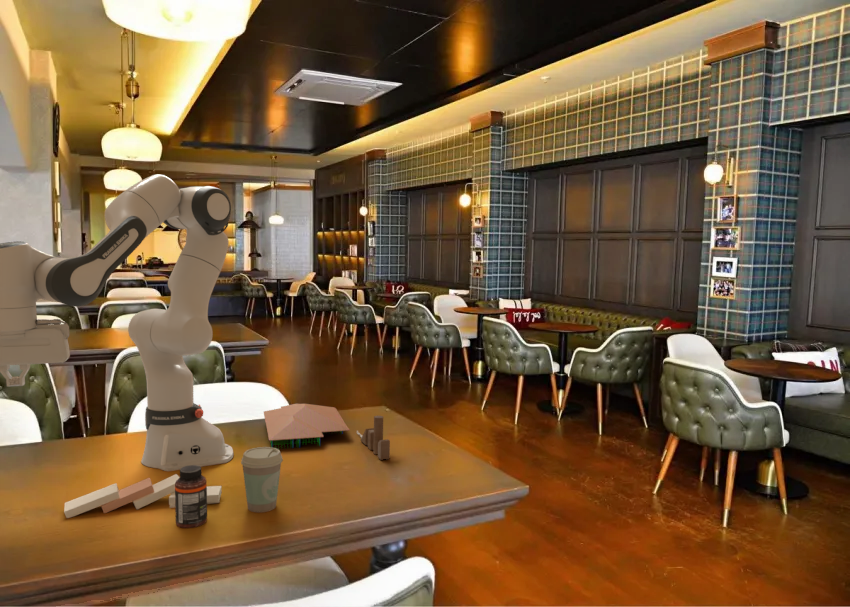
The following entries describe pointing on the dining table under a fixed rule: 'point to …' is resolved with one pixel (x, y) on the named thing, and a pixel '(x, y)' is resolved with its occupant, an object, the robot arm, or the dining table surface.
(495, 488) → the dining table surface
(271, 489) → the coffee cup
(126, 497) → the domino
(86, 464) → the dining table surface
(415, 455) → the dining table surface
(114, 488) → the domino end
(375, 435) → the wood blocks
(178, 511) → the supplement bottle
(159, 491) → the domino
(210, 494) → the domino
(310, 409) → the house
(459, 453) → the dining table surface
